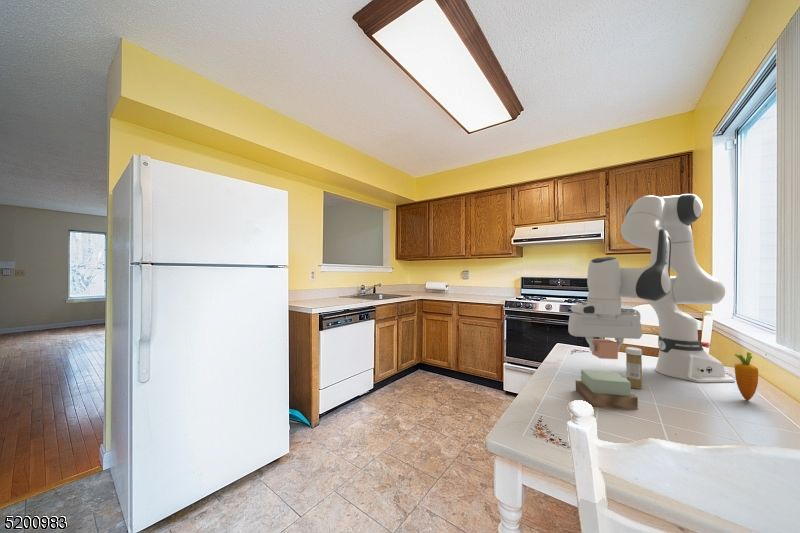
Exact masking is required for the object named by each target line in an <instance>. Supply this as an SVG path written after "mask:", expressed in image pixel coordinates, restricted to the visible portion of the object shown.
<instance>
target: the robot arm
mask: <svg viewBox="0 0 800 533" xmlns="http://www.w3.org/2000/svg"><path fill="white" fill-rule="evenodd" d="M702 212H703V203H702V200H701V198H700V197H699V196H697V195H696V194H693V193H682V194H680V195H679V194H678V195H668V196H657V195H644V196H641V197H640V198H637V199H636V200H635V201H634V203H632V204H630V206H629V207H627V209H626V211H625V218H624V220H623V222H622V224H621V228H620V234H621V236H622V238H623V239H624V241H625V242H627V243H628V244H631V245H632V246H635V247H638V248H643V249H648V250H650V258H649V264H648V265H646V266H644V267H622V266H620V262H619V259H618V258H617V257H612V256H606V257H605V256H604V257H597V258H592V260H590V261H589V264H588V267H587V278H586V279H587V280H586V283H587V288H588V294H587V301H583V302H580V303H576V304H572V305H571V306H570V307H571V308H570V309H571V313H570V315H569V318H568V330H567V331H568V333H569V334H570V336H573V337H577V338H578V337H582V338H585V340H586V342H587V343H588V345H589V350H590V351H591V352H592V351H597V346H595V345H594V344H593V342H592V341H593V339H594V338H602V339H605V338H606V339H614V341H615V342H617V343H618V353H620V348H621V346H622V345H623V343H624V339H631V340H632V339H635V340H640V339H641V338H642V336H643V329H642V323H641V313H640V311H638V309H637V310H636V309H635V308H623V307H622V298H627V299H641V300H643V301H645V302H647V303H648V304H649V305H650V306H651V307H652V309H653V310H654V311H655V314H656V315H657V316H656V317H657V320H658V327H659V335H658V338H657V345H658V350H659V351H658V357H657V358H658V359H657V362H656V366H655V368H654V371H656V372H658V373H659V374H662V375H665V376H669V377H672V378H677V379H683V380H688V381H691V382H695V383H735V382H736V379H735V378H734V377H732V376H730V375H728V374H727V373H726V371H725V370H726V369H725V367H724V364H723V363H722V362H721V361H720V360H718V359H717V358H715V357H714V356H713V355H711V354H709V352H707V351H705V350H704V348H706V349H710V348H711V343H709V342H707V341H701V340H699V339H698V337H699V333H698V332H699V330H698V328H699V327H698V326H699V325H698V322H697V320H696V318H695V317H693V316H692V315H690V314H689V313H686V312H683V311H681V310H680V309H679V307H678V305H677V304H679V305H680V304H681V305H682V304H683V305H694V306H695V305H697V306H703V305H715V304H718V303H720V302H721V301H722V300H724V297H725V295H726V287H725V286H724V283H722V282H721V281H720V279H718V278H716V277H714V276H712V275H710V274H709V273H707V272H706V271H705V270H704V269H703V268H702V267H701V266H700V265H699V263H698V260H697V258H696V255H695V254H696V253H695V248H694V247H695V246H694V237H693V230H692V227H691V226H692V224H693V223H694V222H696V221H697V220H698V219H700V217H701V216H702V214H703V213H702ZM671 270H673V272H675V273H676V275H671V273H670V272H671Z"/></svg>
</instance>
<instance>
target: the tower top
mask: <svg viewBox="0 0 800 533" xmlns="http://www.w3.org/2000/svg"><path fill="white" fill-rule="evenodd" d="M580 381H582V382H583V383H584V384H585V385H586V386H587V387H588V388H589V389H590V390H591V391H592V392H593V393H601V394H613V395H624V396H631V394H632V387H631V382H629V381H628V380H627V378H625V377H623V376H622V375H621V374H619V373H618V372H616V371H612V370H609V371H608V370H599V369H598V370H597V369H583V368H581V369H580Z"/></svg>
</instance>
